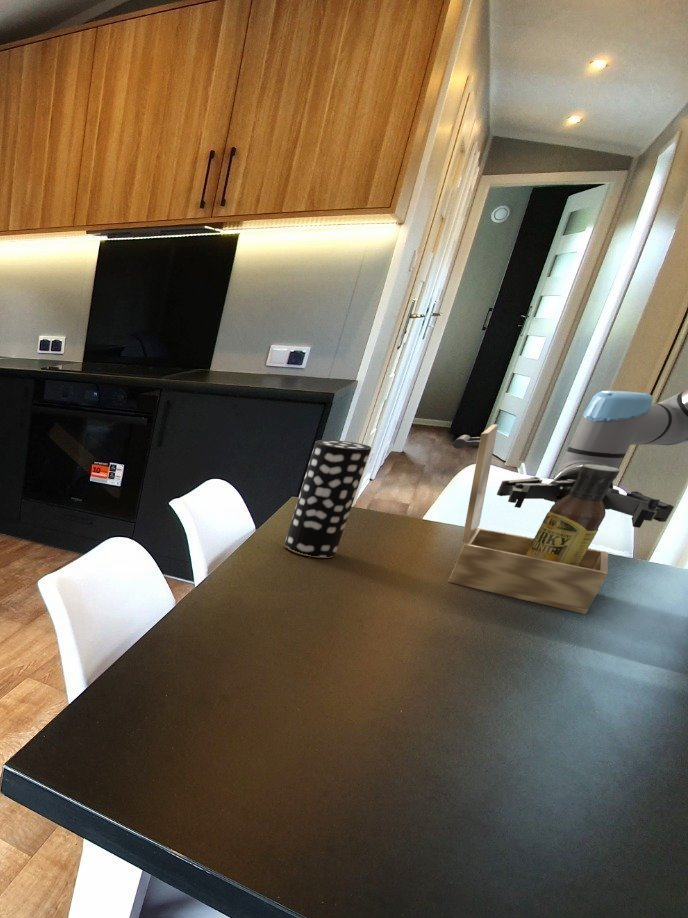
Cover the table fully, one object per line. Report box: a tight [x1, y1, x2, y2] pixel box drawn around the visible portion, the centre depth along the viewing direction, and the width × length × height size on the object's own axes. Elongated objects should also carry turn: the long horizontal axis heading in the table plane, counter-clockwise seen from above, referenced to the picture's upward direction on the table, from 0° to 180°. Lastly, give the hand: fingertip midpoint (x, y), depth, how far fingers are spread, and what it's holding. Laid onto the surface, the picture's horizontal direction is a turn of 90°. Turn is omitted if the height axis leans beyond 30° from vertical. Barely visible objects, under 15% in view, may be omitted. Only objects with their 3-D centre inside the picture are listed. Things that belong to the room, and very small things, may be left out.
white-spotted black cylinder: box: [284, 439, 372, 557], centre depth 116 cm, size 8×8×20 cm
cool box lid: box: [452, 423, 499, 543], centre depth 107 cm, size 17×14×4 cm
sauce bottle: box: [525, 464, 620, 566], centre depth 100 cm, size 6×6×20 cm
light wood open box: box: [447, 527, 609, 615], centre depth 105 cm, size 17×14×7 cm
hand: (578, 508), depth 100 cm, fingers open, 13 cm apart
